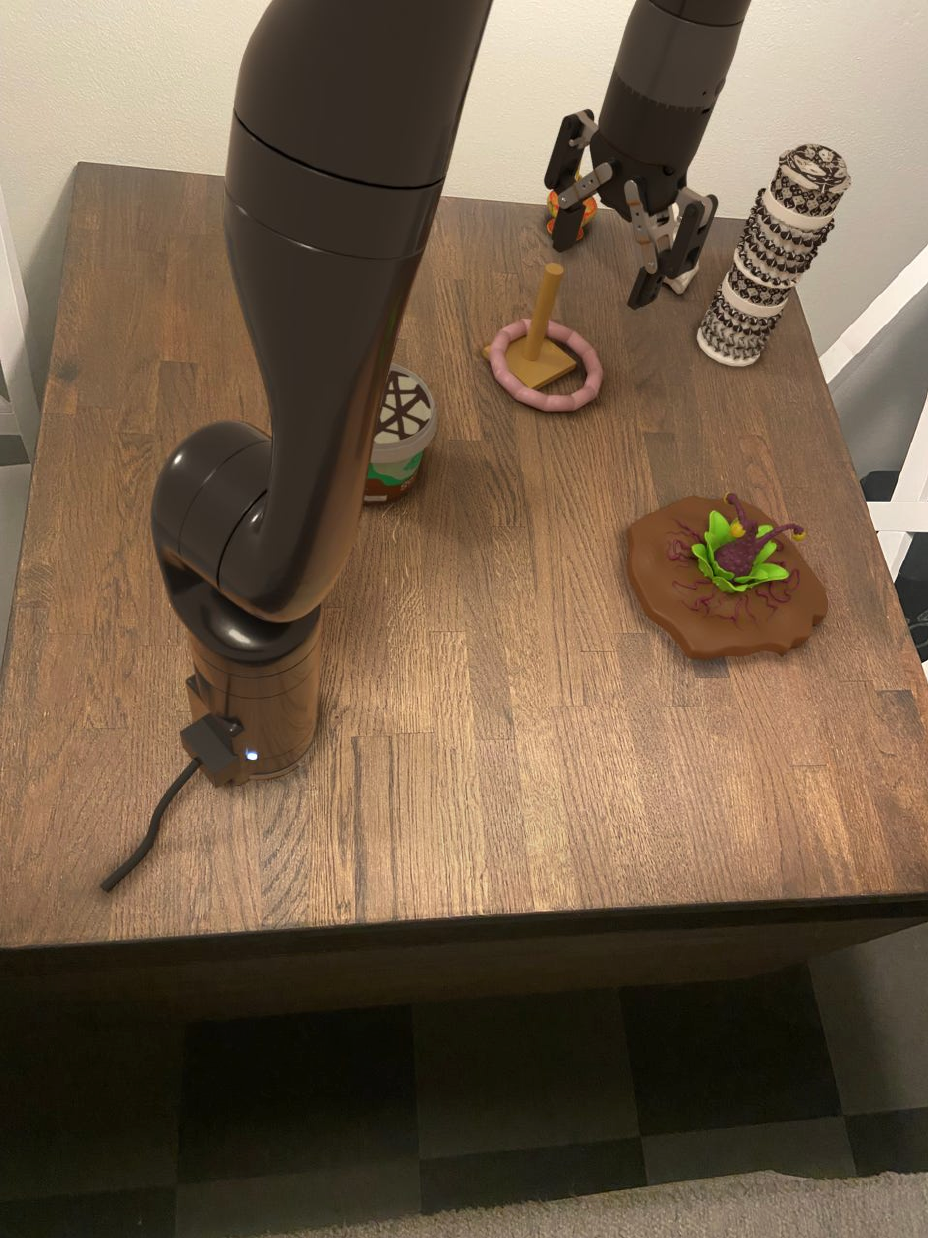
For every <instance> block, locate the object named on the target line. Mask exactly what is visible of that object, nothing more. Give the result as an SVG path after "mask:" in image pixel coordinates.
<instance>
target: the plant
mask: <svg viewBox="0 0 928 1238" xmlns="http://www.w3.org/2000/svg"><path fill="white" fill-rule="evenodd" d="M789 530H792V532H791V536H792V539H793V540H794V541H796V542H801V541H804V539H805V538H806V530H805V528H803V526H801V525H798V524H796V523H786V524H783V525H779V523H778V522H777V521H776V520H775V519H774V518H771V517H769V516H768V515H767V514H765V512H763V511H762V510H761V509H760V508H758V507H757V506H756V505H753V504H751V503H749V502H747V501H745V500H742V499H740V498H739V497H738V495H737V494H736V493H735V492H733V491H728V492H726V493H725V494H724V497H722V498H719V499H711V498H704V497H701V496H698V495H690V496H686V497H683V498H681V499H680V500H678V501H675V502H674V503H670V504H669V505H666V506H664V507H661V508H659V509H657V510H655V511H652V512H649V513H648V514H646V515H643V517H640V518H639V519H638V520H636V521H634V522H633V523H632V524H631V525H630V526H629V528H628V531H627V532H626V541H627V551H628V554H627V555H628V557H627V561H626V574H627V578H628V581H629V584H630V586H631V589H632V590H633V591H634V594H635V596H636V598H637V601H639V604H640V607H641V608H642V611H643V612H644V614H645V616H646V617H647V618H648V619H649V620H650V621H651V622H652V623H655V624H656V625H658V626H659V627H661V628H662V629H663V630H664V631H665V632H667V633H668V635H669V636H670V637H671V638H672V639H673V640H674V642H675V643H676V644H677V645H678V646H679V647H680V649H681V651H682V652H683V654H684V655H685V657H686V658H687V659H692V660H701V661H702V660H703V661H712V660H715V659H718V658H722V657H723V658H724V657H735V658H739V657H740V658H741V657H745V656H749V655H752V654H757V653H760V652H773V653H777V654H778V656H780V657H782V658H783V657H784V655H785V654H787V652H788V651H789V650H790V649H793V648H800V647H802V646H803V645H804V644H805V643H806V642H807V641H808V640H809V639H810V638H811V636H812V635H813V626H817V625H819V624H820V623H822V621H823V620H824V619H825V618H826V617H827V616H828V607H829V599H828V595H827V590H826V588H825V586H824V584H823V583H822V582H821V580H820V579H819V577H818V576H817V575H816V573H815V572H814V571H813V570H812V568H811V567H810V566H809V563H808V562H807V561H806V560H805V558H804V557H803V555H802V554H801V552H800V550H799V549H798V548H797V547H796V545H795V544H794V543H793V542H792V541H791V539H790V538H789V537H788V536H786V534H785V533H784V532H786V531H789Z"/></svg>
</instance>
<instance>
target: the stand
mask: <svg viewBox="0 0 928 1238" xmlns="http://www.w3.org/2000/svg"><path fill="white" fill-rule="evenodd" d="M564 272H565V269H564V268H563V266H562V265H561V264H559V263H555V262H549V263H548V264H546V265H545V268H544V271H543V274H542V279H541V283H540V286H539V289H538V294H537V297H536V302H535V305H534V309H533V311H532V316H531V323H530V327H529V330H528V334H527V335H523V336H521V337H519V338H517V339H515V340H513V341H511V342H509V345H508V347H507V349H506V352H505V354H504V355H505V358H506V362H507V365H508V368H509V371H510V372H511V373H512V374H513V375H514V376H515V377H516V378H517V379H518V380H519V381H520V382H521V383H522V384H524V385H525V386H526V387H529V388H531V389H534V390H536V391H538V390H540V389H541V388H543V387H545V386H547V385H548V384H550V383H552V382H554V381H556V380H558V379H560V378H561V377H563V376H564V375H566V374H568V373H570V372H572V371H574V370H575V369H576V366H577V361H575V360H574V359H573V358H572V357H571V356H569V355H568V354H567V353H566V352H565V351H563V350H562V349H561V348H560V347H559V346H557V344H555V343H554V342H553V341H552V340H550V339H549V337H547V336H546V335H545V334H546V330H547V327H548V323H549V320H550V321H551V316H552V313H553V310H554V306H555V303H556V299H557V295H558V292H559V289H560V286H561V282H562V279H563V276H564ZM491 345H492V343H491V344H489V345H487V346H485V347H484V348H483V349H482V354H481V355H482V356H483V357H484V358H485V359H487V360H488V361H489V362H490V359H489V355H488V353H489V350H490V347H491Z"/></svg>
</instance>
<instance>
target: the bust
mask: <svg viewBox="0 0 928 1238" xmlns="http://www.w3.org/2000/svg"><path fill="white" fill-rule="evenodd" d="M672 207H673V214H674V220H675V230H674V231H673V240H675V237H676V234H677V231H678V228H679V225H680V223H678V222H677V220H676V218H677V216H678V214H679V207H678V205H677V203H674V204H672ZM657 245H658V244H657ZM658 251H659V250H658ZM699 263H700V258H699V259H698V262H697V265H696V267H695V268H694V269H693V270H691V271H689V272H686V273H684V274H682V275H680V276H679V277H677V278H676V279H673V280H670V279H668V278H667V277H666V276H665V278H664V281H663V283H665V284H668V285H669V286H670V288H671V289H672V290H673V291H674V292H675V293H676V294H677V295H681V294H684V292H685V291H686V289H687V287H688V285H689V284H690V282H691V281H692V279H693V278H694V276H695V275H696V274H697V273H698V271H699Z"/></svg>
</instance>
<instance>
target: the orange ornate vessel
mask: <svg viewBox="0 0 928 1238" xmlns="http://www.w3.org/2000/svg"><path fill="white" fill-rule="evenodd" d="M585 150H586V148H585V149H584V152H583V155H582V158H581V161H580V164H579V167H578V170H577V172H576V175H575V180H576V181H578V180H580V179H581V178H583V176H582V174H580V169H581V165H582V160H583V156H584V153H585ZM583 204H584V205H585V206H587V207H586V210H585V213H584V216H583V220H582V223H581V226H580V229H579V233H578V236H577V239H576V242H577V241H579V240H580V239H582V238H583V236H584V230H583V227H584V226H585V225H587V224H588V223H590V222H591V221H592V220H593V219H594V218H595V216H596V214H597V212H598V203H597V201H596V199H595V197H594V195H593V196H592V197H590V198H589V199H587V200H586V201H583ZM546 206H547V209H548V211H549V213H550V214H551V216H552V219H550V220H549V221H548V223H547V224H546V229H547V231H548V233H549V234H550V235H551V236H552V230H553V227H554V223H555V219H556V216H557V212H558V209H559V204H558V196H557V194H556V193H555V192H554V190H553V189H552V190H550V192H549V193H548V195H547V198H546Z"/></svg>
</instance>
